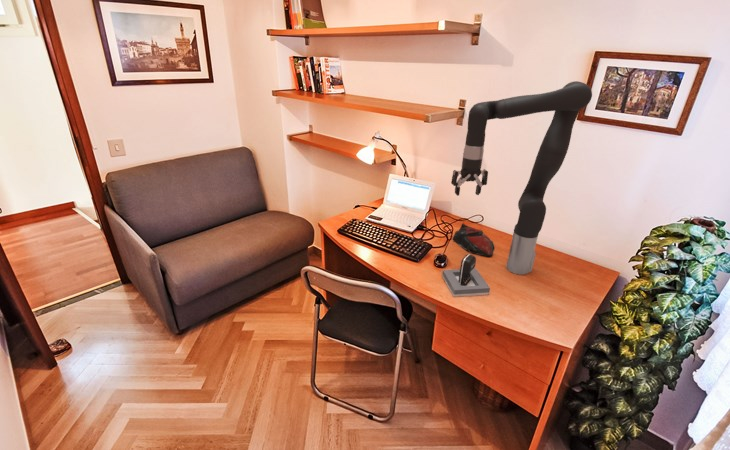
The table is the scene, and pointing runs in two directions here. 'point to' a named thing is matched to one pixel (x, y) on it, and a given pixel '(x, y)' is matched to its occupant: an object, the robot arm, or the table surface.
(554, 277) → the table surface
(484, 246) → the drone shell
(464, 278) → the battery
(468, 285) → the tray
